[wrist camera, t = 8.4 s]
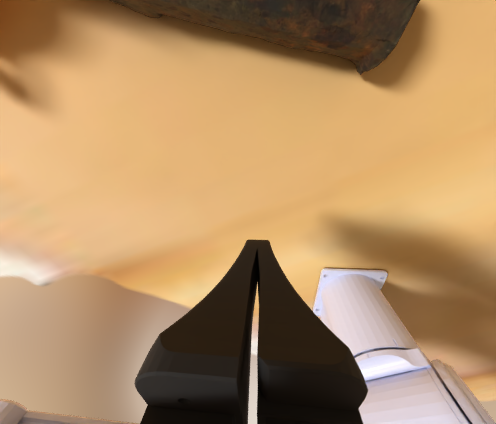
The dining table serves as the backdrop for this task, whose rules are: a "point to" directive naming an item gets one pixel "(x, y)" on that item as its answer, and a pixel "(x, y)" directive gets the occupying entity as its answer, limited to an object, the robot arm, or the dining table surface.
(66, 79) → the dining table surface
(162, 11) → the dark brown elongated piece
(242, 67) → the dining table surface
